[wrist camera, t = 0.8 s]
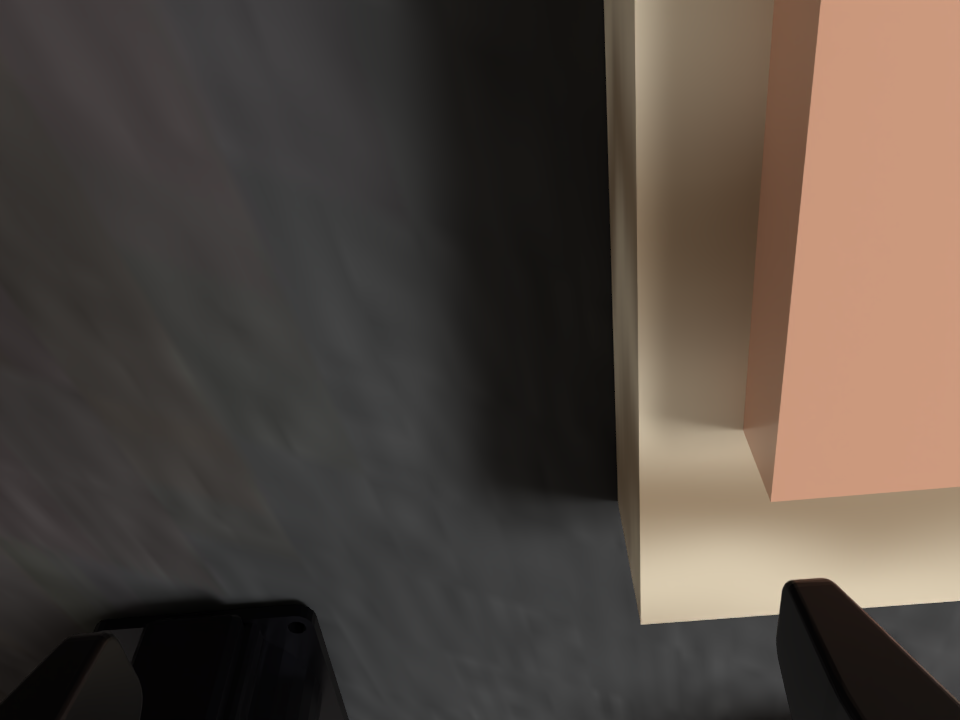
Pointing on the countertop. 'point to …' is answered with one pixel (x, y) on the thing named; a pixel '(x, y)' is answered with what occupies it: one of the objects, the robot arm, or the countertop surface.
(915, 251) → the tile
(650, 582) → the soap dish
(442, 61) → the countertop surface
